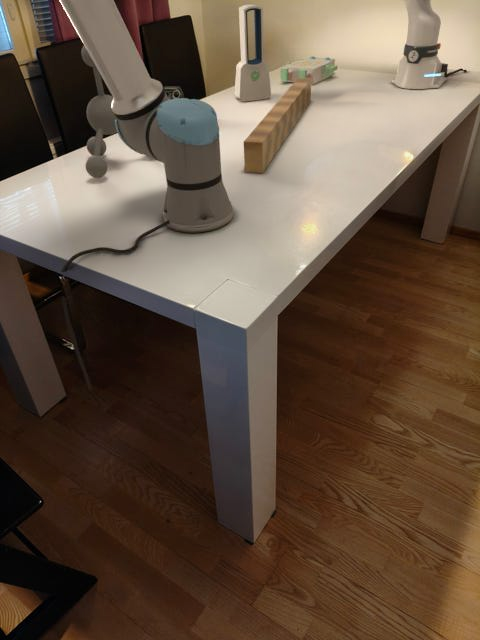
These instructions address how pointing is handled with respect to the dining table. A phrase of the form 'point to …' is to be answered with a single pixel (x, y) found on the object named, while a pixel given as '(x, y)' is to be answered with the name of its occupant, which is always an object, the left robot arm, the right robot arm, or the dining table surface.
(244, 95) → the electronic device
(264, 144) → the post
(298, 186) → the dining table surface
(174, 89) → the grenade
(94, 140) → the molecular model
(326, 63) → the white green flat box
